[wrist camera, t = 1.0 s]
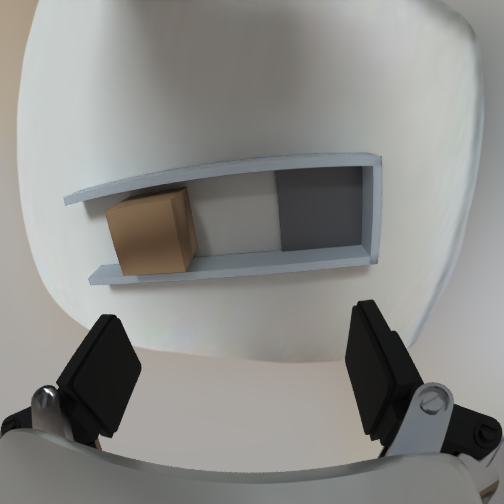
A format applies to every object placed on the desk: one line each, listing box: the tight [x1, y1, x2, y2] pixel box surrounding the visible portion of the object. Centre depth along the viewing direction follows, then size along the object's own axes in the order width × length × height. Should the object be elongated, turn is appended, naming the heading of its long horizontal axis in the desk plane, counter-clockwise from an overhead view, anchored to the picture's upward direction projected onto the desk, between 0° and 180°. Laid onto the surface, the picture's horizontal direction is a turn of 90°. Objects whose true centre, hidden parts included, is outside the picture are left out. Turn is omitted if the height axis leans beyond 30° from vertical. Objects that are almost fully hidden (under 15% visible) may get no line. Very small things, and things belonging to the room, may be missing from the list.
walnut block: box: [105, 187, 198, 276], centre depth 23 cm, size 6×6×5 cm
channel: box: [64, 153, 382, 285], centre depth 23 cm, size 10×29×3 cm, turn 96°
